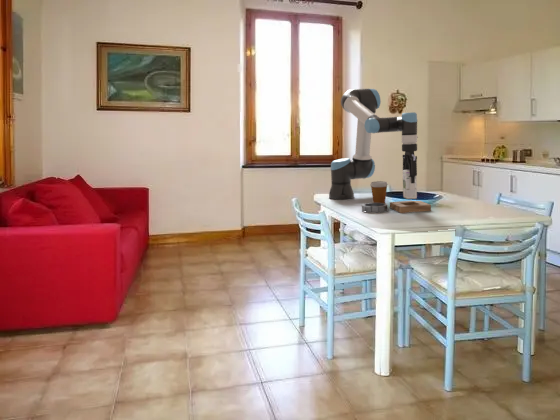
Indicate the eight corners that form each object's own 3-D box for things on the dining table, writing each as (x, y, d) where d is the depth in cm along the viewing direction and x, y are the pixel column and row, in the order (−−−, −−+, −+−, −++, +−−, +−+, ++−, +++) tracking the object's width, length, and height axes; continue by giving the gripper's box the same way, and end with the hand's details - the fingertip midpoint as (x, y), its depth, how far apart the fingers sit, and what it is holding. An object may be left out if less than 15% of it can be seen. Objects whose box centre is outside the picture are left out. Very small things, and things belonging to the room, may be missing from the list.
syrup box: (417, 198, 262) (417, 170, 259) (405, 199, 261) (405, 170, 259) (413, 196, 267) (413, 169, 265) (402, 197, 267) (402, 169, 265)
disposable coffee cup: (387, 205, 280) (387, 183, 278) (370, 205, 282) (369, 183, 280) (387, 202, 289) (387, 181, 287) (370, 202, 291) (370, 181, 289)
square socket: (389, 207, 272) (389, 202, 272) (418, 205, 274) (418, 200, 274) (400, 213, 257) (400, 207, 256) (430, 210, 259) (430, 204, 258)
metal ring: (369, 207, 276) (369, 201, 275) (391, 209, 268) (391, 203, 267) (357, 211, 266) (357, 206, 265) (380, 213, 258) (380, 207, 257)
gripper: (424, 143, 251) (424, 190, 255) (409, 142, 269) (409, 185, 273) (409, 144, 250) (409, 191, 254) (395, 143, 268) (396, 186, 272)
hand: (409, 188), depth 264 cm, fingers closed on syrup box, 6 cm apart
